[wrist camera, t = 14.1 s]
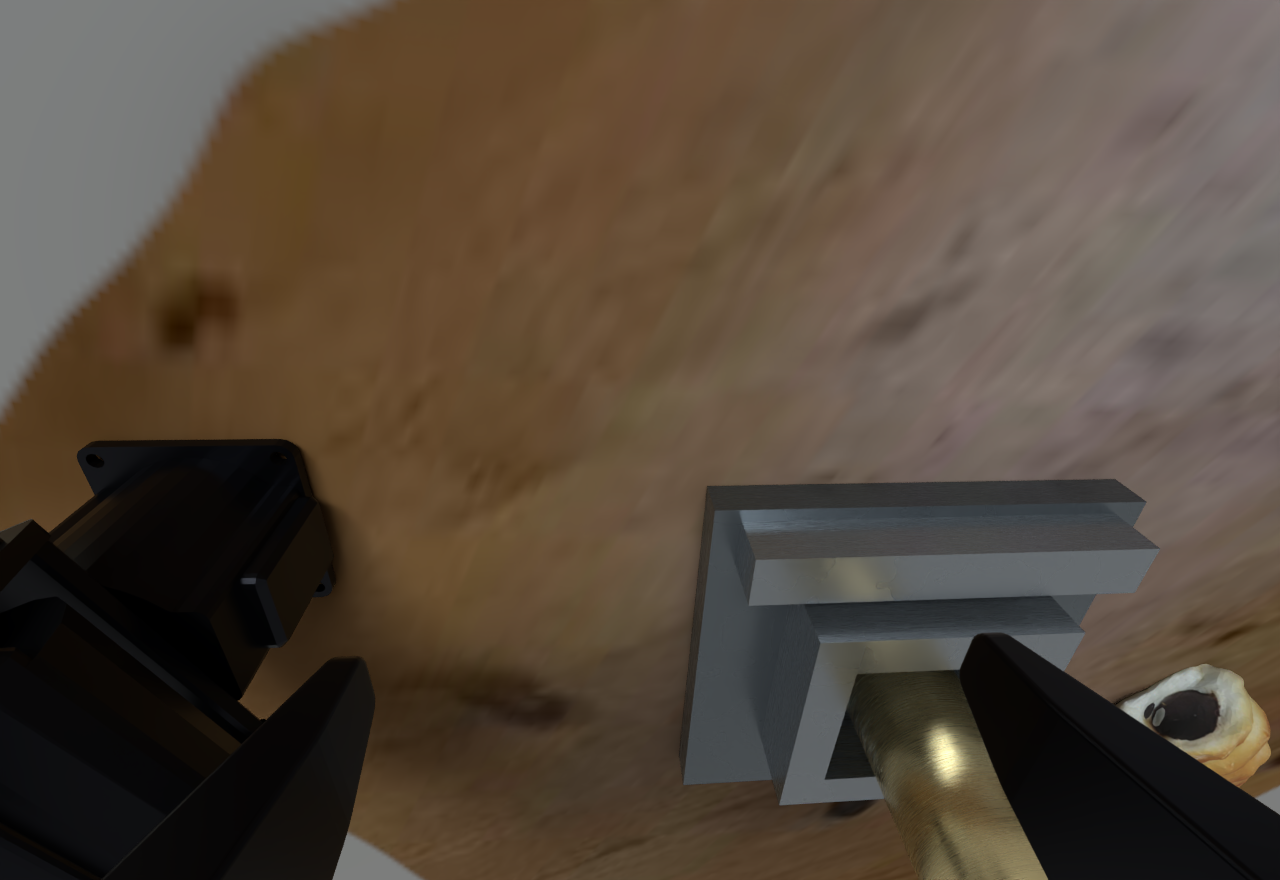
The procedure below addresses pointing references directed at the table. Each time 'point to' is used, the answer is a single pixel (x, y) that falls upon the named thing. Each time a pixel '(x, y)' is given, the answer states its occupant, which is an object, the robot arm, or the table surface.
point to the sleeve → (939, 778)
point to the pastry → (1206, 719)
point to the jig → (877, 607)
